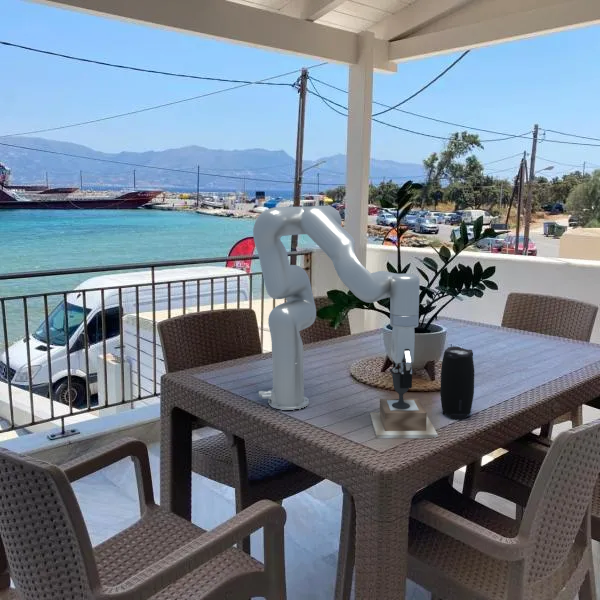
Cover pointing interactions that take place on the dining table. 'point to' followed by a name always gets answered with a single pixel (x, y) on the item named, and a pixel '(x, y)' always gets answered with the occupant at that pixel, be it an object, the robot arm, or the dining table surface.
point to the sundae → (396, 382)
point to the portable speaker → (457, 382)
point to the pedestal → (402, 420)
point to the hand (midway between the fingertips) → (402, 382)
